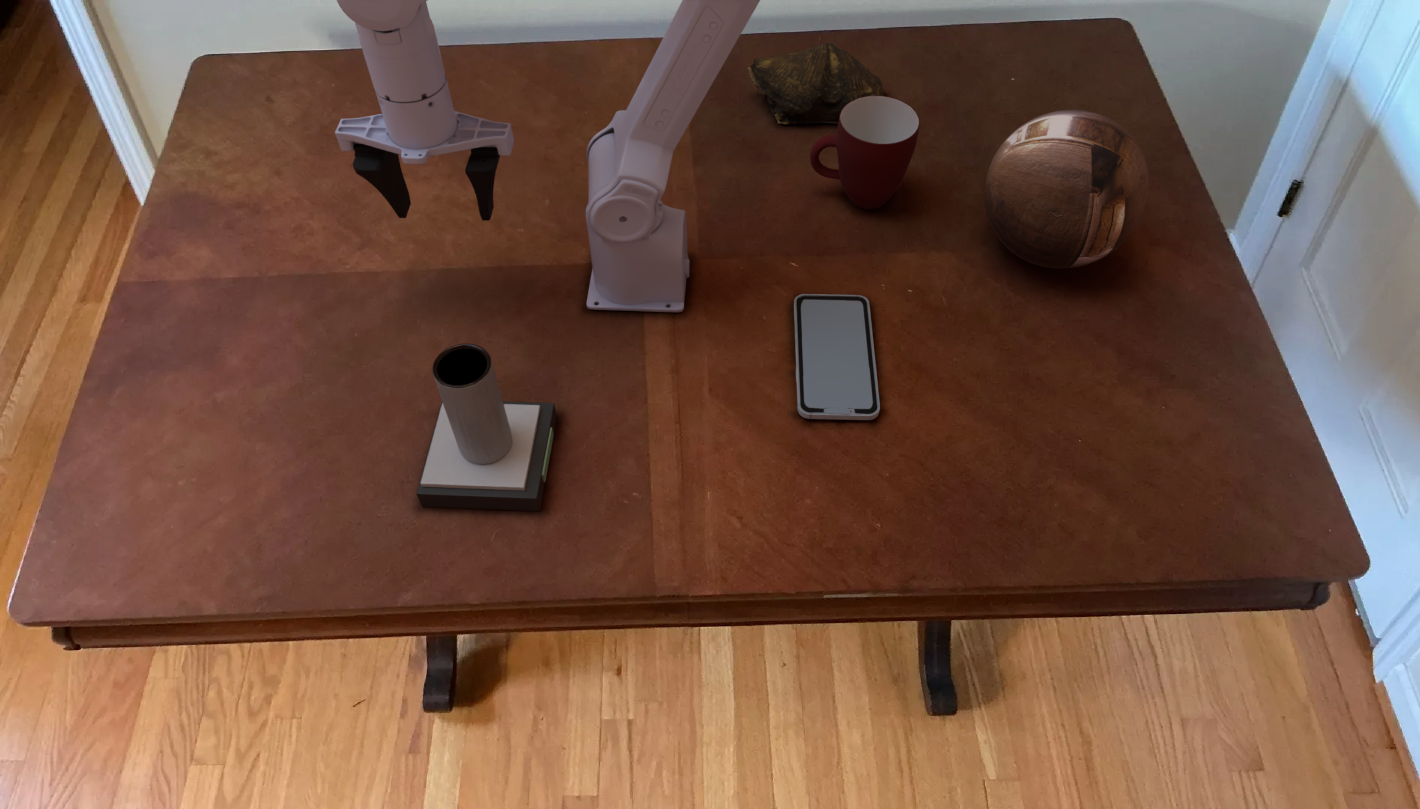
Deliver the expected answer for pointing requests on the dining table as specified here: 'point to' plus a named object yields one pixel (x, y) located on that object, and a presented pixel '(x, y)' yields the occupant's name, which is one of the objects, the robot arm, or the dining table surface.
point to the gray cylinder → (473, 402)
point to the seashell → (812, 83)
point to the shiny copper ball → (1066, 189)
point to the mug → (870, 148)
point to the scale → (491, 464)
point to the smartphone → (835, 358)
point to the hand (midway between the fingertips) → (446, 212)
